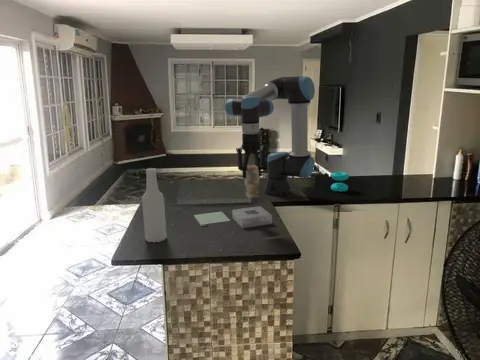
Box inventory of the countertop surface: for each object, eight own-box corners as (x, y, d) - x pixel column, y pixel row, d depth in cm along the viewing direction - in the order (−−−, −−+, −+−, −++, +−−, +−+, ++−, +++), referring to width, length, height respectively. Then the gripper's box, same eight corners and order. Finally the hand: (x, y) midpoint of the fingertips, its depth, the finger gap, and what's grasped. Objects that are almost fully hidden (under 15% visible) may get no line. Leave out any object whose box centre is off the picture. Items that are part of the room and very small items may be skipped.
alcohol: (168, 234, 173) (163, 166, 166) (165, 242, 164) (160, 171, 157) (147, 235, 173) (141, 166, 165) (143, 243, 164) (137, 171, 157)
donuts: (329, 171, 238) (346, 171, 238) (329, 187, 241) (345, 187, 241) (333, 175, 229) (350, 175, 228) (332, 192, 231) (350, 192, 231)
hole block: (260, 216, 194) (260, 206, 193) (272, 225, 181) (272, 215, 180) (232, 219, 189) (232, 209, 188) (242, 230, 177) (242, 219, 175)
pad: (221, 213, 199) (221, 211, 199) (230, 222, 186) (230, 220, 186) (193, 217, 194) (193, 215, 194) (200, 226, 182) (200, 224, 181)
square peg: (254, 194, 185) (254, 165, 182) (258, 197, 181) (257, 167, 178) (245, 195, 184) (245, 165, 180) (249, 198, 180) (248, 168, 176)
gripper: (234, 135, 169) (236, 188, 175) (272, 132, 174) (273, 184, 180) (229, 133, 176) (230, 184, 182) (266, 130, 181) (266, 180, 187)
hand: (251, 184), depth 181 cm, fingers closed on square peg, 4 cm apart
